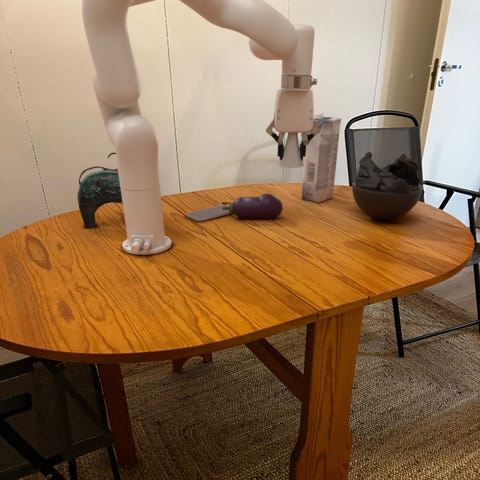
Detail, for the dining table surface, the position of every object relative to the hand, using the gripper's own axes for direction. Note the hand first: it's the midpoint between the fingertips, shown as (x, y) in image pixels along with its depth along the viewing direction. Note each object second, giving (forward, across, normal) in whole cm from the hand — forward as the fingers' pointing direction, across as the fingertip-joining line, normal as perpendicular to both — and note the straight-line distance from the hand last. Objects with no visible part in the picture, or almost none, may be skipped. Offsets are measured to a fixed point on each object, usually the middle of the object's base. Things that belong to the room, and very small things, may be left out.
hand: (291, 158), depth 120 cm
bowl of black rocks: (+18, -30, -6) cm, 35 cm away
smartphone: (+19, +22, -12) cm, 32 cm away
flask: (+2, 0, 0) cm, 2 cm away
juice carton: (+19, -14, -29) cm, 37 cm away
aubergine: (+19, +10, -8) cm, 23 cm away
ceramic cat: (+20, +50, -4) cm, 54 cm away
